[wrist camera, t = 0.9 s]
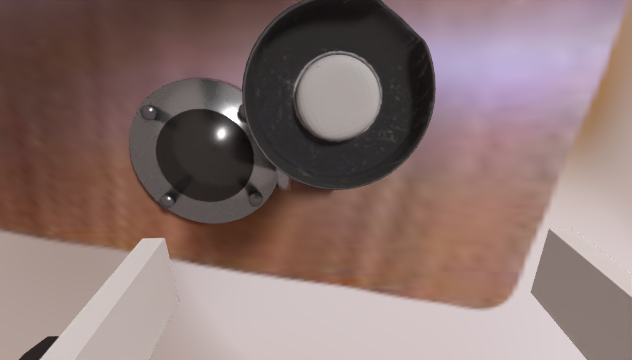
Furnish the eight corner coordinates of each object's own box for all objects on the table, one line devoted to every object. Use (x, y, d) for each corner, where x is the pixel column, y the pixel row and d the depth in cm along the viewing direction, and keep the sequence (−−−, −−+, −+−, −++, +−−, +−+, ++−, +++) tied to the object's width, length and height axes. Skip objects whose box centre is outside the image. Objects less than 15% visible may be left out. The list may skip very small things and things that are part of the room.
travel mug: (290, 114, 33) (258, 203, 14) (277, 30, 30) (216, 4, 12) (368, 104, 33) (439, 182, 14) (362, 18, 30) (441, -29, 11)
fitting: (118, 79, 32) (79, 86, 26) (346, 74, 31) (352, 79, 26) (151, 220, 37) (124, 248, 32) (345, 216, 37) (349, 244, 32)
